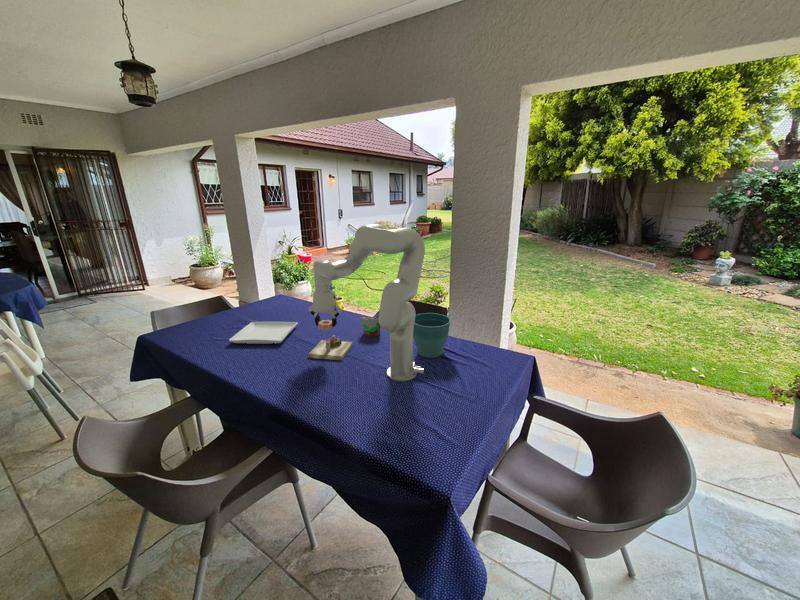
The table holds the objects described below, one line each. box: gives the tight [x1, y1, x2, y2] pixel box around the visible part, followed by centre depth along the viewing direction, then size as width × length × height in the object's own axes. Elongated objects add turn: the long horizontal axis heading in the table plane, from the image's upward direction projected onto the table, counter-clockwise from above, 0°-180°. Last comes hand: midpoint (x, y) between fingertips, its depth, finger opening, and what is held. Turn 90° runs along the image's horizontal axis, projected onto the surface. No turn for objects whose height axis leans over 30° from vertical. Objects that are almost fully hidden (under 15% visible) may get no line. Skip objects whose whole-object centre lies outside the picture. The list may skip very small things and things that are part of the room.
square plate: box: [228, 321, 299, 345], centre depth 181 cm, size 27×27×4 cm
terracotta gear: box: [318, 319, 335, 331], centre depth 154 cm, size 7×7×2 cm
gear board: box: [308, 334, 353, 361], centre depth 161 cm, size 16×16×6 cm
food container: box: [360, 314, 381, 338], centre depth 179 cm, size 12×6×10 cm, turn 62°
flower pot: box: [413, 312, 451, 359], centre depth 158 cm, size 18×18×17 cm
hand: (326, 325), depth 154 cm, fingers closed on terracotta gear, 7 cm apart
